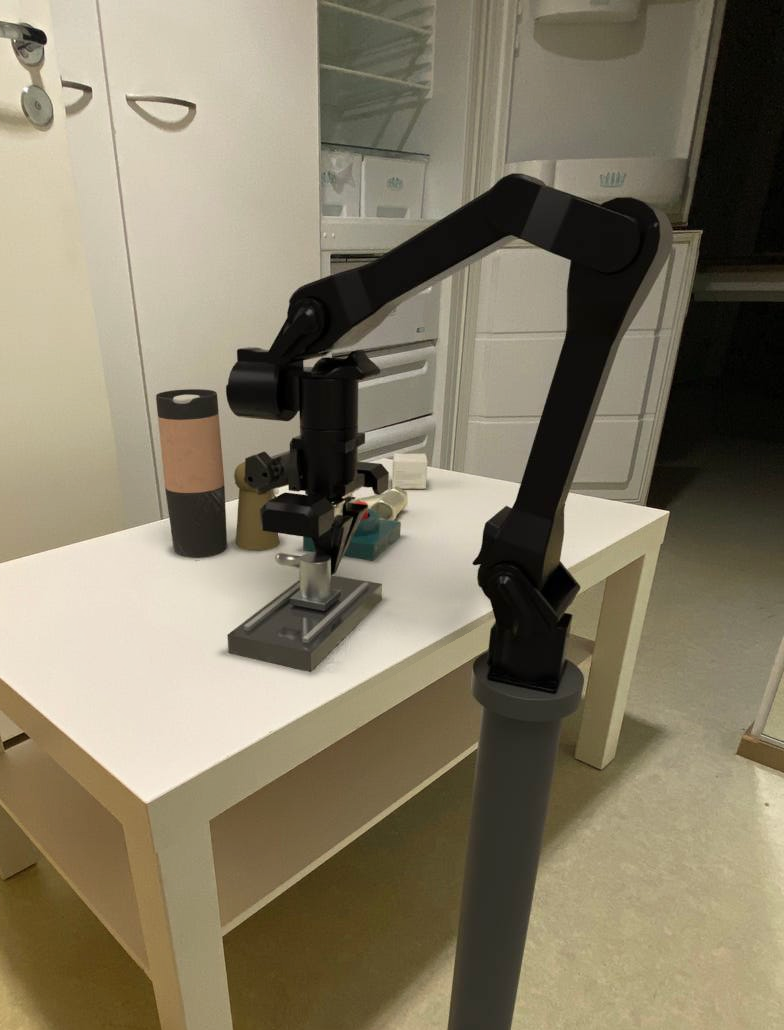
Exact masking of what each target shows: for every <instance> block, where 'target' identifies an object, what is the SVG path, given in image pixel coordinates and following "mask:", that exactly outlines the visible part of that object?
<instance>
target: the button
mask: <svg viewBox="0 0 784 1030" xmlns="http://www.w3.org/2000/svg"><path fill="white" fill-rule="evenodd" d="M356 503H357V504H365V505H368V504H367V503H365V502H361V501H356ZM367 518H368V508H367V511H365V513H364V515H363V517H362V519H367ZM362 519H361V520H362Z"/></svg>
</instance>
